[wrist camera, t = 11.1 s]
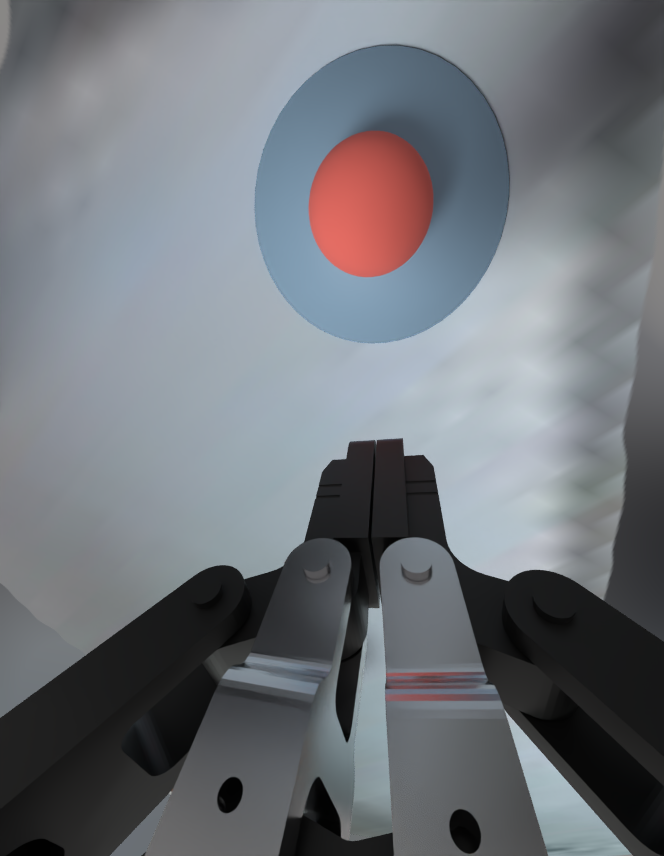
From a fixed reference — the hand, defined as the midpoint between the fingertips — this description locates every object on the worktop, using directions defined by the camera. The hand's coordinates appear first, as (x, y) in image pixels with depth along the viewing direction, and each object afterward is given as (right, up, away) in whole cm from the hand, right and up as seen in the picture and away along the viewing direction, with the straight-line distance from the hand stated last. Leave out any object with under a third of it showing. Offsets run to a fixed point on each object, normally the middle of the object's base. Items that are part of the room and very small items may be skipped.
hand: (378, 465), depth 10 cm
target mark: (+1, +13, +10) cm, 16 cm away
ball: (0, +12, +7) cm, 14 cm away
